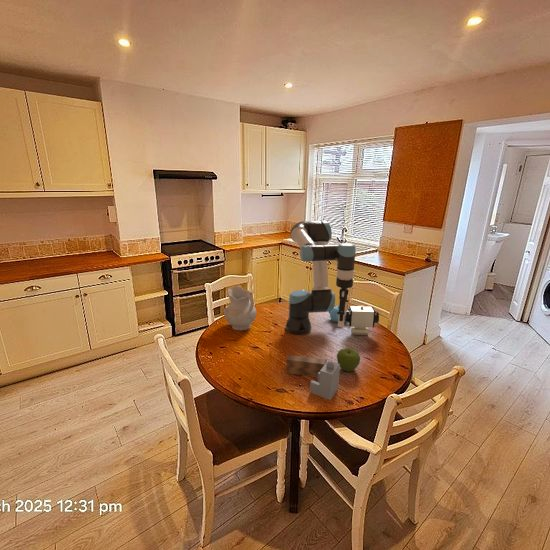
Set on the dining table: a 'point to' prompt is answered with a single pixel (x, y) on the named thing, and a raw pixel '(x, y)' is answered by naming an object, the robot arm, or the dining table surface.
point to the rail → (304, 365)
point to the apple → (348, 359)
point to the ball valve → (361, 319)
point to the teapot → (334, 313)
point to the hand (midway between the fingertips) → (342, 320)
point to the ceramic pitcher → (240, 308)
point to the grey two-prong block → (326, 381)
